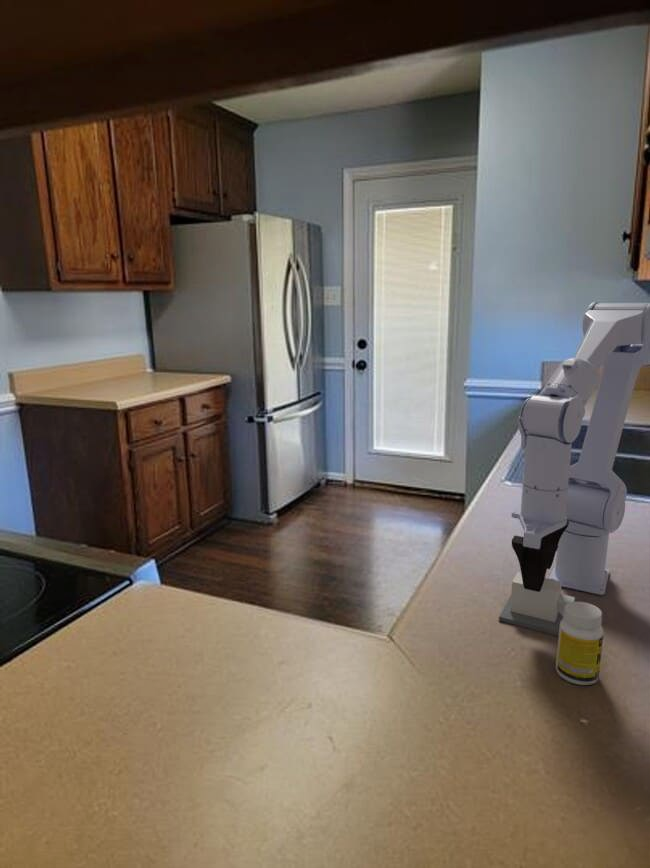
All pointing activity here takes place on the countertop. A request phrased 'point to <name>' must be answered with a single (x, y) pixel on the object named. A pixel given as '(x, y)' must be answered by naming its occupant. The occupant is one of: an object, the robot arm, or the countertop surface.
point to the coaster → (531, 620)
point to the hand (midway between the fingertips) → (537, 577)
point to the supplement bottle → (580, 643)
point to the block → (538, 599)
